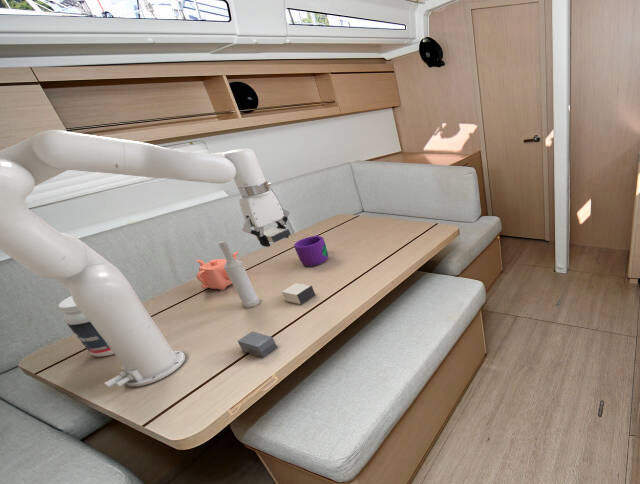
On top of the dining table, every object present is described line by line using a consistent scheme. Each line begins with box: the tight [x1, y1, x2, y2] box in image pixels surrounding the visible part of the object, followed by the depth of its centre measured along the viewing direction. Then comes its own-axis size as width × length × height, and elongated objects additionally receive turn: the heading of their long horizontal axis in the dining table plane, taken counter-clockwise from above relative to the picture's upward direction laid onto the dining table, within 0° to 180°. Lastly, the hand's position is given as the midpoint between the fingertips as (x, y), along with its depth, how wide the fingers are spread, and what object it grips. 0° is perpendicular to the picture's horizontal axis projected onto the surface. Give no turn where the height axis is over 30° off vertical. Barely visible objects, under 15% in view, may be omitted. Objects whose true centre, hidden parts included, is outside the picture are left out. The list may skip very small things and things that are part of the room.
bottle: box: [217, 240, 261, 309], centre depth 121 cm, size 5×5×25 cm
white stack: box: [281, 282, 316, 305], centre depth 127 cm, size 6×8×4 cm
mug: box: [293, 234, 329, 267], centre depth 154 cm, size 17×11×10 cm, turn 10°
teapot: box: [195, 250, 240, 291], centre depth 139 cm, size 14×14×11 cm
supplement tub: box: [58, 296, 115, 357], centre depth 107 cm, size 13×13×18 cm
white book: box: [255, 226, 292, 244], centre depth 116 cm, size 6×8×2 cm
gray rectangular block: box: [237, 331, 278, 358], centre depth 103 cm, size 4×9×4 cm, turn 69°
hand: (275, 241), depth 117 cm, fingers closed on white book, 6 cm apart
